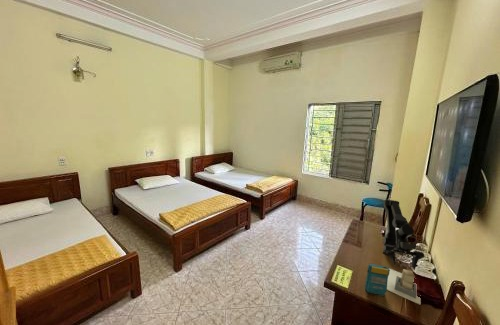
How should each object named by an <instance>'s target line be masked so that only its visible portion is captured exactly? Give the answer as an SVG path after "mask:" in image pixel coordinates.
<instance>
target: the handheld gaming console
mask: <svg viewBox="0 0 500 325" xmlns="http://www.w3.org/2000/svg"><path fill="white" fill-rule="evenodd" d="M390 269H391V268H389V267H387V266H384V265H379V264H372V263H369V264H368V266H367V270H366V271H367V273H366V277H365V278H366V279H365V284H364V290H365V291H366V292H367V293H369V294H374V295H379V296H383V297H384V296H385V295H386V293H387V291H388V290H387V281H388V275H389V271H390Z"/></svg>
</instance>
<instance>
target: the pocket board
mask: <svg viewBox="0 0 500 325" xmlns="http://www.w3.org/2000/svg"><path fill="white" fill-rule="evenodd" d="M389 269H390V271H389V275H388V281H387V290H386V291H389V292H390V293H394V295H395V294H396V296H400V297H401V298H404V299H406V300H409V301H411V302H413V303H415V304H418V305H421V303H422V302H421V301H422V300H421V298H420V297H418V296H417V284H416V283H413V286H412V290H411V291H410V290H408V289H406V288H403V287H401V286H400V281H401V277H402V272H400V271H396V270H395V269H393V268H389ZM413 287H414V288H413Z"/></svg>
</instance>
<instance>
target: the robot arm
mask: <svg viewBox="0 0 500 325" xmlns="http://www.w3.org/2000/svg"><path fill="white" fill-rule="evenodd" d="M382 204H383V209H384V210H385V211H386V222H387V223H386V227H388V232H387V234H386V235H385V234H384V237H383V238H382V244H383V248H382V249H383V251H382V254H384V255H387V256H389V258H390V260H391V262H392V264H393V266H396V258H395V253H399V254H405V255H410V256H412V257H411V263H412V264H411V265H412V269H413V270H412V271H415V270H416V268H417V264H418V262H419V261H420V260H421V259H425V254H424V252H423V251H418V250H417V243H416V242H413V241H412V242H411V243H410V241H409V239H408V238H409V237H410V236H412V235H413V234H414V233H415V231H414V228H413V226H411V225H410V223H409V221H408V220H407V218H406V217H404V215H403V213H402V209H401V207H400V201H398V200H393V199H388V198H385V199H384V200H383V201H382ZM396 228H399V229H397V230H396Z"/></svg>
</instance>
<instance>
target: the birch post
mask: <svg viewBox="0 0 500 325" xmlns="http://www.w3.org/2000/svg"><path fill="white" fill-rule="evenodd" d="M401 273H402V277H401V281H400V286H401V287H403V288H406V289H408V290H410V291H411V290H412V286H413V282H414V278H415V279H416V275H415V274H414V273H413V270H409V269H405V268H404V269H402V272H401Z"/></svg>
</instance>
